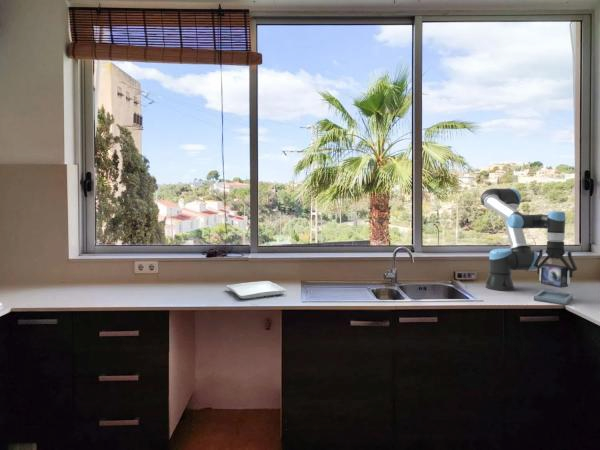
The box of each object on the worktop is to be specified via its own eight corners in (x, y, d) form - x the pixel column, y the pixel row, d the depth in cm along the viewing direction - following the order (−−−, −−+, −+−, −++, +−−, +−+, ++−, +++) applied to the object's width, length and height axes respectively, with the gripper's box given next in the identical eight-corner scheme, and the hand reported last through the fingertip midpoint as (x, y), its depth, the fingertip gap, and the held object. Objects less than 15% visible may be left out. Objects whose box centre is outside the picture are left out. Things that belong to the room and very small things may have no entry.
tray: (533, 300, 198) (533, 295, 198) (542, 294, 211) (542, 290, 211) (566, 305, 189) (566, 300, 188) (572, 298, 201) (572, 294, 201)
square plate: (225, 291, 223) (225, 284, 223) (268, 286, 236) (268, 280, 235) (240, 301, 199) (240, 294, 199) (287, 295, 212) (287, 288, 211)
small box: (540, 283, 203) (540, 264, 202) (548, 282, 205) (548, 263, 205) (560, 287, 193) (561, 267, 193) (568, 286, 196) (569, 266, 195)
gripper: (527, 239, 204) (526, 279, 205) (582, 242, 187) (581, 286, 188) (531, 238, 209) (530, 277, 210) (585, 241, 192) (583, 284, 193)
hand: (554, 282), depth 199 cm, fingers closed on small box, 12 cm apart
